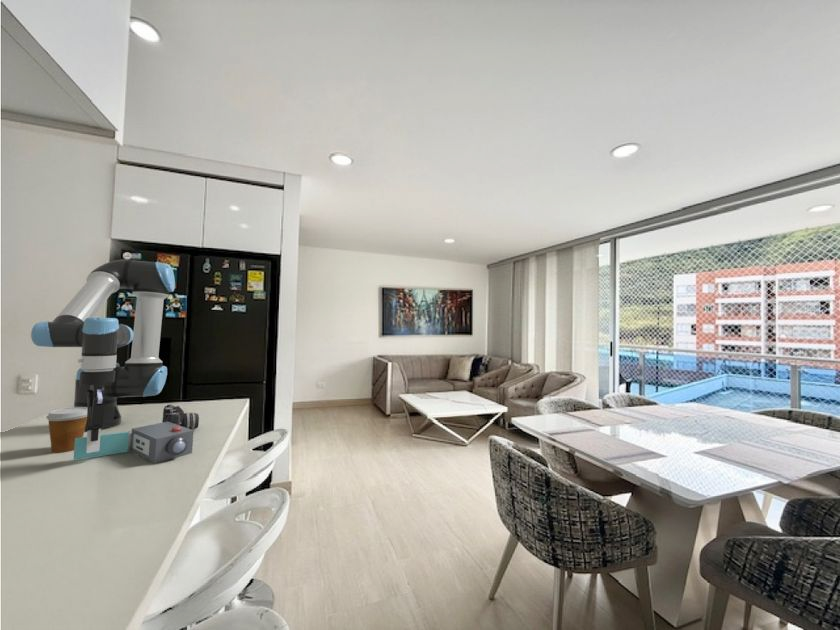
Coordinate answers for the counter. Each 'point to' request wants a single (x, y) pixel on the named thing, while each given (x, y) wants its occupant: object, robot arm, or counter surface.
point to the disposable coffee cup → (66, 427)
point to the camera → (180, 417)
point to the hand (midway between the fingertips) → (92, 451)
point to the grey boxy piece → (161, 441)
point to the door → (104, 445)
